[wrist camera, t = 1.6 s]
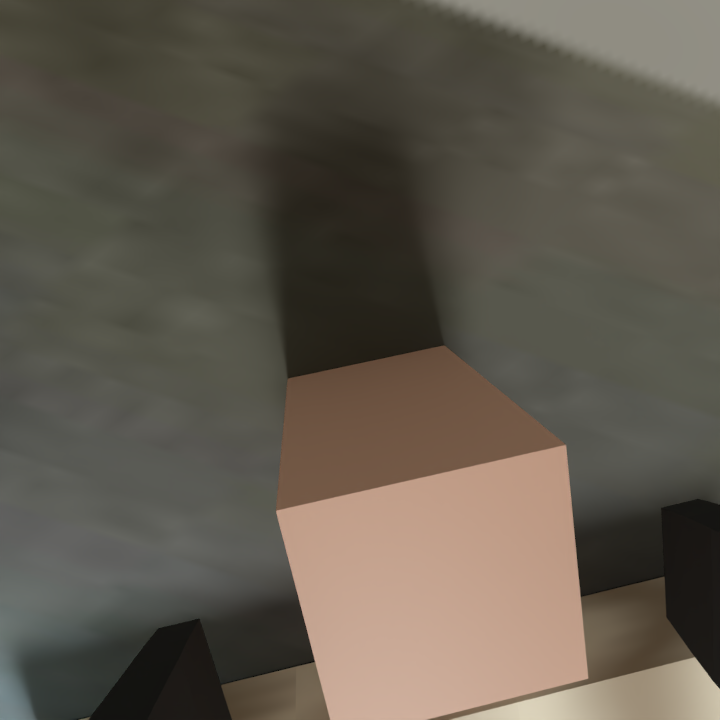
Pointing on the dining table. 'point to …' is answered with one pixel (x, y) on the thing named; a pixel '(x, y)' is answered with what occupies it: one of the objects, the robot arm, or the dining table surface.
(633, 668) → the rail
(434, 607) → the square peg
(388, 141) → the dining table surface
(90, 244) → the dining table surface
